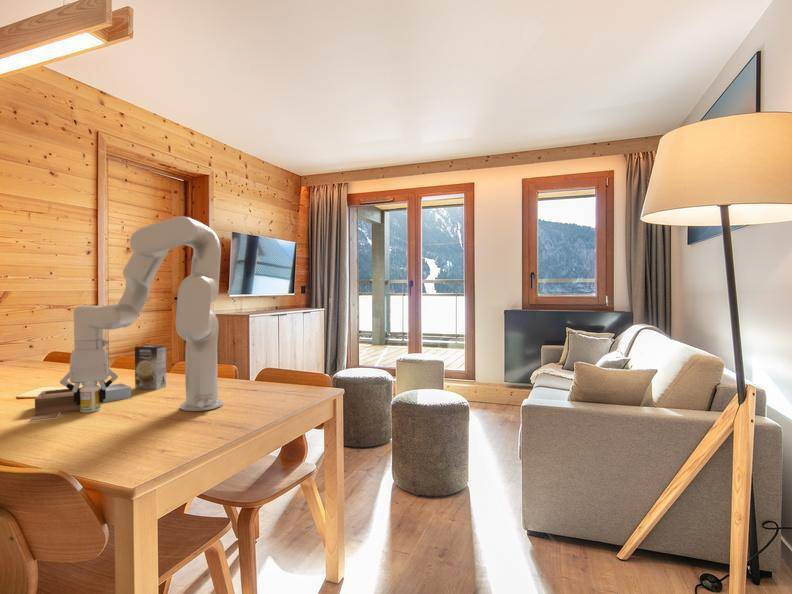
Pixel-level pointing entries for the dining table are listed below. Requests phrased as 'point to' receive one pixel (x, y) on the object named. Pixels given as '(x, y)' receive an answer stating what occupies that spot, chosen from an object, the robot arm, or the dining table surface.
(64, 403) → the walnut tray
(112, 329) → the robot arm
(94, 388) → the supplement bottle
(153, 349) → the coffee box
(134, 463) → the dining table surface
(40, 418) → the swatch
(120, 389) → the slate block
